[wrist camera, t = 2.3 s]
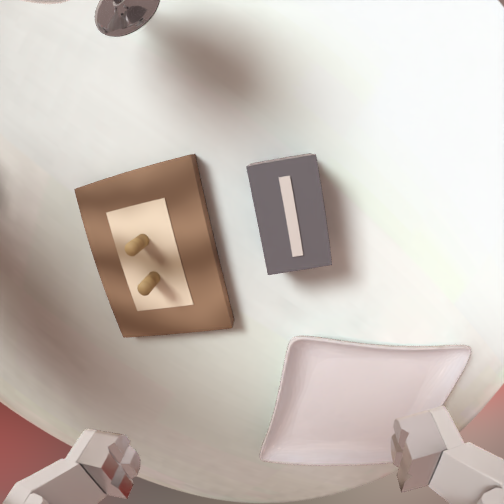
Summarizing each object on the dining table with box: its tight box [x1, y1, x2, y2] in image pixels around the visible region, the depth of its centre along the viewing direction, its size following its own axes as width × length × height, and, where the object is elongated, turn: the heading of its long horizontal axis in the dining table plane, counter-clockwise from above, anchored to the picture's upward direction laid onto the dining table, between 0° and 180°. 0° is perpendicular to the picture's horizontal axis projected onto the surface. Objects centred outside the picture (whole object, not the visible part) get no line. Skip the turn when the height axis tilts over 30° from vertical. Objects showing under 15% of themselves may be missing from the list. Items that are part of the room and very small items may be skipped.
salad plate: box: [260, 336, 471, 466], centre depth 32 cm, size 21×21×3 cm
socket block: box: [246, 153, 332, 275], centre depth 25 cm, size 8×5×4 cm, turn 12°
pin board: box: [75, 154, 234, 337], centre depth 27 cm, size 16×12×4 cm
